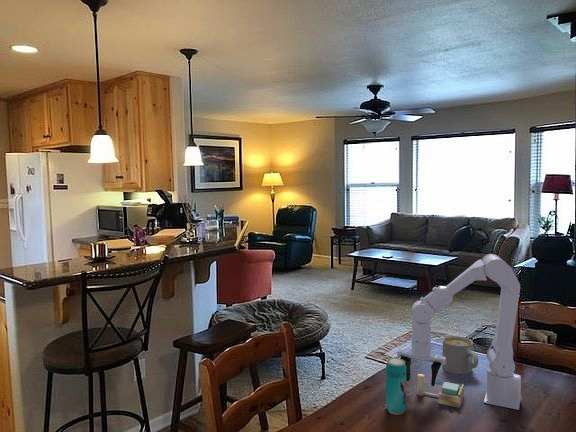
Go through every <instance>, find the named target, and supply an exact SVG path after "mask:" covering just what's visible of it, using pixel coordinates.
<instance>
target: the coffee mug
mask: <svg viewBox="0 0 576 432" xmlns="http://www.w3.org/2000/svg"><path fill="white" fill-rule="evenodd" d="M473 346H474V342H473V340H472V339H469V338H467V337H465V336H460V335H449V336H444V337H443V338H442V356H443V357H446V363H445V365H441V367H442V369H443V370H444V371H446V372H448V373H450V374H455V375H467V374H470V373H472V372H473V369H475V368H477V367H478V365H479V356H478V354H477V353H476V352H475V351H473V349H474V347H473Z"/></svg>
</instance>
